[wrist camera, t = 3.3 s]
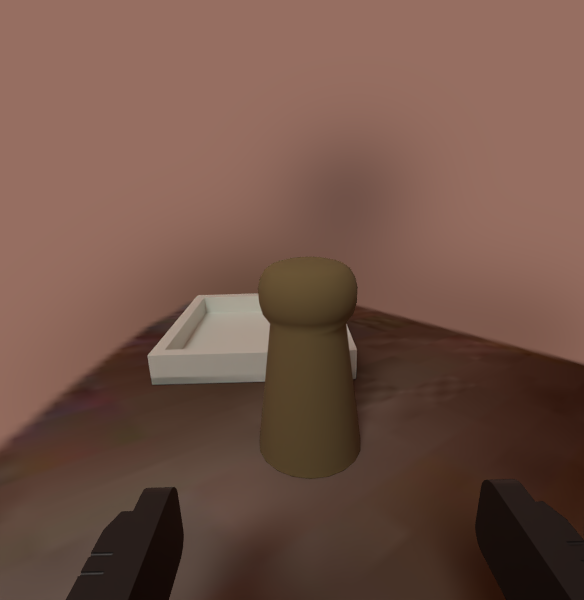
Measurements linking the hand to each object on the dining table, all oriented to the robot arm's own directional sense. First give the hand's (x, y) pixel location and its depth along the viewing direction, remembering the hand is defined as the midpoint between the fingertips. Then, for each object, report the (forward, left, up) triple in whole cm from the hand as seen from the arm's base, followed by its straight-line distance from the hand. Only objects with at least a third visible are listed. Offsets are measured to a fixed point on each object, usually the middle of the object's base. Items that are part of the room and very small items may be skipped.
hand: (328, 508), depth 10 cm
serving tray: (+4, -26, -7) cm, 27 cm away
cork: (0, -11, -7) cm, 13 cm away
